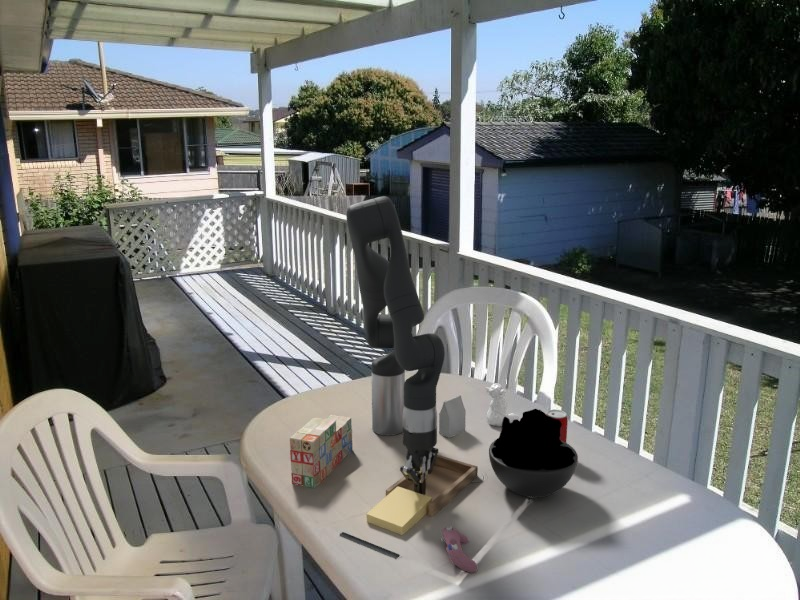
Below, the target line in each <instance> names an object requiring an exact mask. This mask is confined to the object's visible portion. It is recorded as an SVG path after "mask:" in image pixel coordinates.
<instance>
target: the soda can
mask: <svg viewBox="0 0 800 600" xmlns="http://www.w3.org/2000/svg"><path fill="white" fill-rule="evenodd" d="M545 414H546V415H547V416H549V417H552V418H554V419H558V420H559V421H560V422H561V424H562V426H561V428H560V435H561V436H560V437H559V439H560V440H562V441H564V442H565V443H567V438H568V437H567V436H568V435H567V434H568V416H567V412H565V411H564V410H560V409H549V410H547V411H546V413H545Z"/></svg>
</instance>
